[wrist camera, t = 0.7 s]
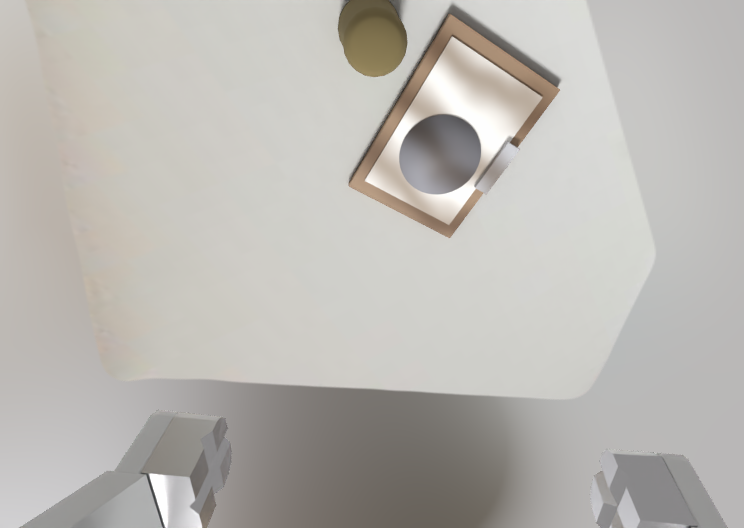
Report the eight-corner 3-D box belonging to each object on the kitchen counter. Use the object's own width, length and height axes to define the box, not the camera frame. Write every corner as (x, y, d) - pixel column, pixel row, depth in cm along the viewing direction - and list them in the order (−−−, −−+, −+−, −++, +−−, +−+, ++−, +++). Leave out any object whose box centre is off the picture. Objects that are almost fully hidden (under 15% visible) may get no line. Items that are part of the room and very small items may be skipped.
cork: (390, -17, 45) (403, -10, 36) (407, 50, 49) (423, 72, 39) (329, 5, 46) (326, 17, 37) (349, 70, 49) (351, 96, 40)
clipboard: (449, 13, 47) (452, 14, 46) (557, 88, 51) (563, 91, 50) (348, 183, 56) (348, 189, 54) (448, 235, 60) (451, 241, 59)
